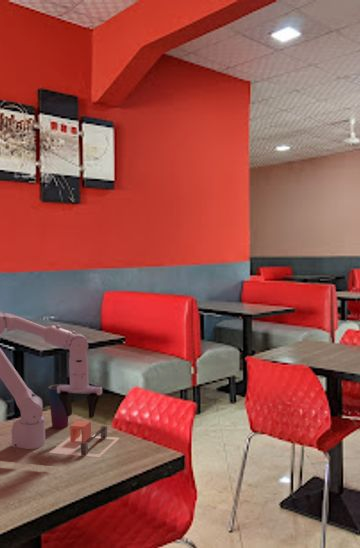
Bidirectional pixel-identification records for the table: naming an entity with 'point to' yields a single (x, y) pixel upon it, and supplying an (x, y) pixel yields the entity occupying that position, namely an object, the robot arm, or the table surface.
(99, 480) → the table surface
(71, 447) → the pink flat square base
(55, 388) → the cup
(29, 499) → the table surface
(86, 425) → the orange u-shaped block
